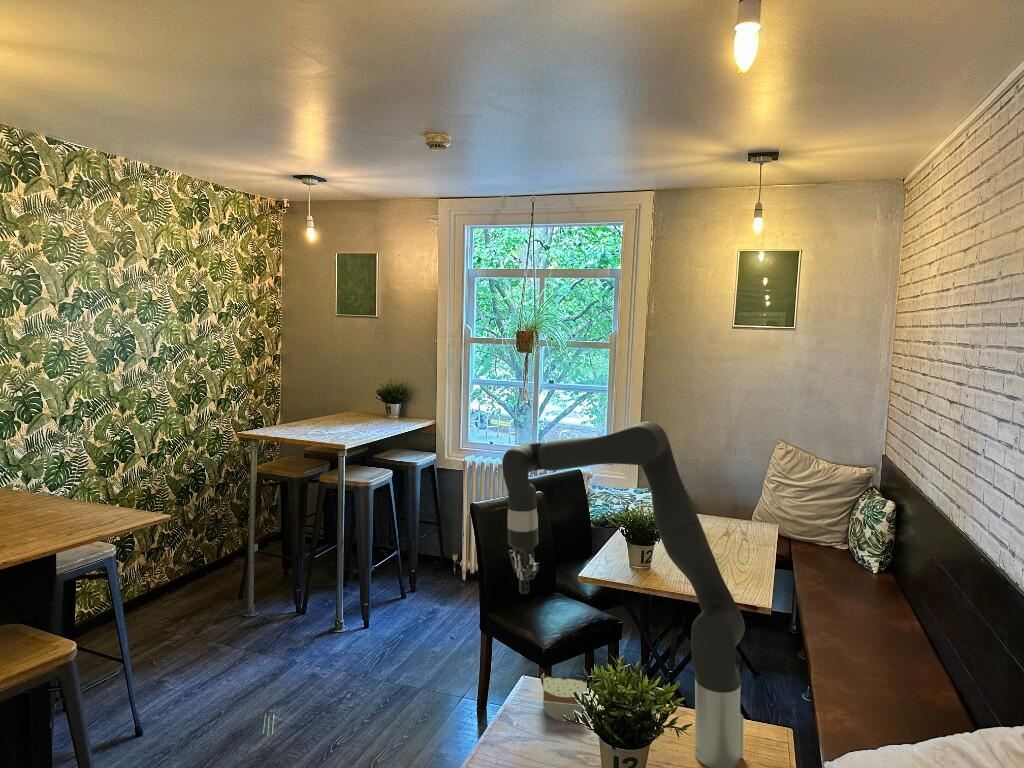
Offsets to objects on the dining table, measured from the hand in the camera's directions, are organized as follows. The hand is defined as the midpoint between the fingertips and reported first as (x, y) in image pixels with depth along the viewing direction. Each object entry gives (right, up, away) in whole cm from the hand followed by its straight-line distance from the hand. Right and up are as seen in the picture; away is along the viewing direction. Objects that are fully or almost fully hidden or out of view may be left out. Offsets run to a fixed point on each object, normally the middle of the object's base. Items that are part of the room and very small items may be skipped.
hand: (524, 592), depth 164 cm
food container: (+9, -26, -9) cm, 29 cm away
